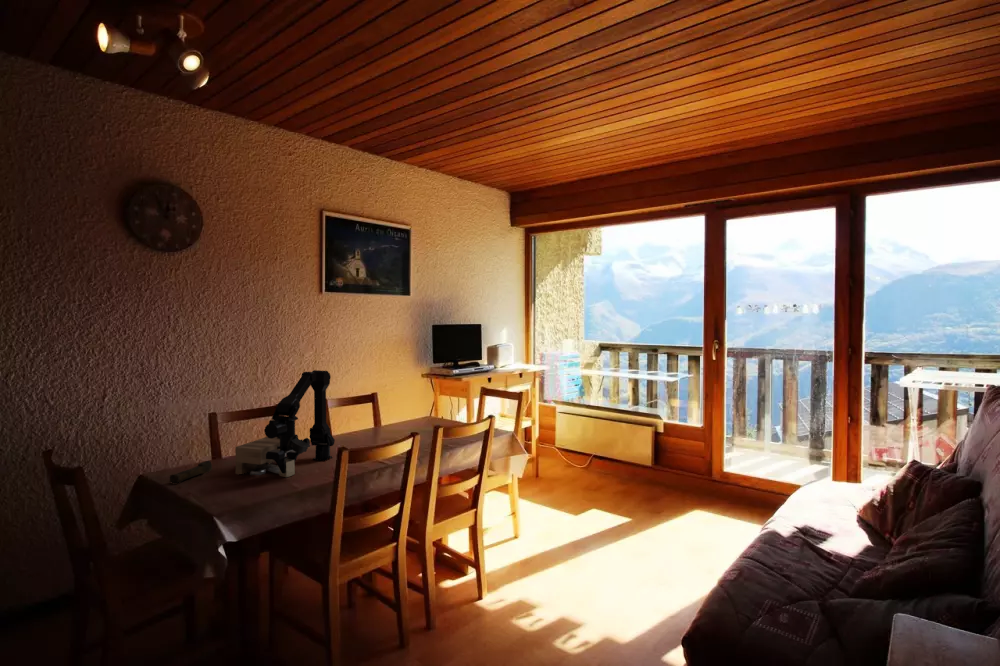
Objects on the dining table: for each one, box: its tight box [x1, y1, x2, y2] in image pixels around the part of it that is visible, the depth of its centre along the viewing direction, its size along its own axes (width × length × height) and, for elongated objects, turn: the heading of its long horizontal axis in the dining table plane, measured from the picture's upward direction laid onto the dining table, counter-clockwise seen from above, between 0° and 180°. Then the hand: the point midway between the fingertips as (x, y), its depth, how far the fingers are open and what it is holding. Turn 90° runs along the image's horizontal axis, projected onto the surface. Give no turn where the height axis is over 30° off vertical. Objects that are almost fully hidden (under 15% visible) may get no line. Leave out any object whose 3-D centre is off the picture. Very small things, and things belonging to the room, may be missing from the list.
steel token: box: [249, 468, 267, 476], centre depth 218 cm, size 6×6×2 cm
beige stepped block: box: [234, 436, 280, 475], centre depth 224 cm, size 20×12×11 cm, turn 164°
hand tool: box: [169, 460, 213, 484], centre depth 212 cm, size 19×4×5 cm, turn 163°
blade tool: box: [257, 458, 296, 478], centre depth 218 cm, size 4×19×6 cm, turn 62°
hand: (287, 471), depth 215 cm, fingers closed on blade tool, 4 cm apart
